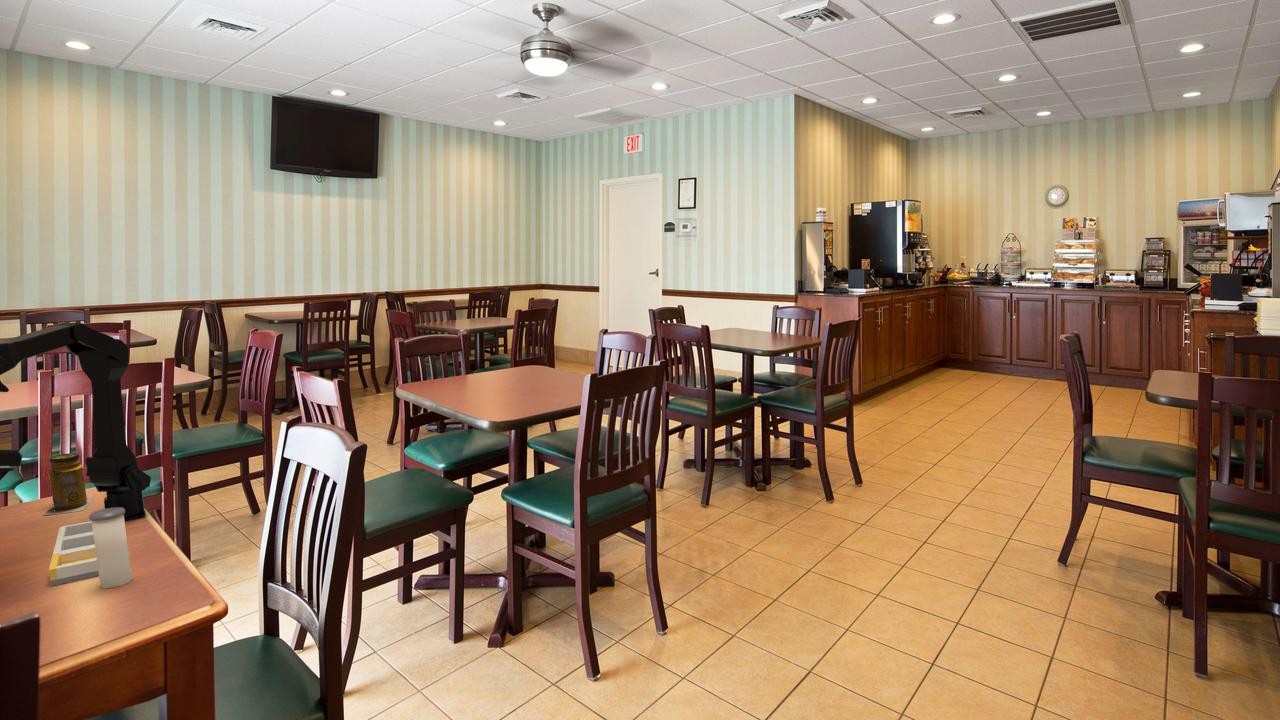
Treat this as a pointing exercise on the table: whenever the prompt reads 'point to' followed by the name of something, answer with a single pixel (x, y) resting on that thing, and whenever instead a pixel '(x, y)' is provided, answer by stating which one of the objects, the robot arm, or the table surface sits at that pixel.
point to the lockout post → (111, 547)
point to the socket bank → (73, 554)
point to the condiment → (67, 484)
